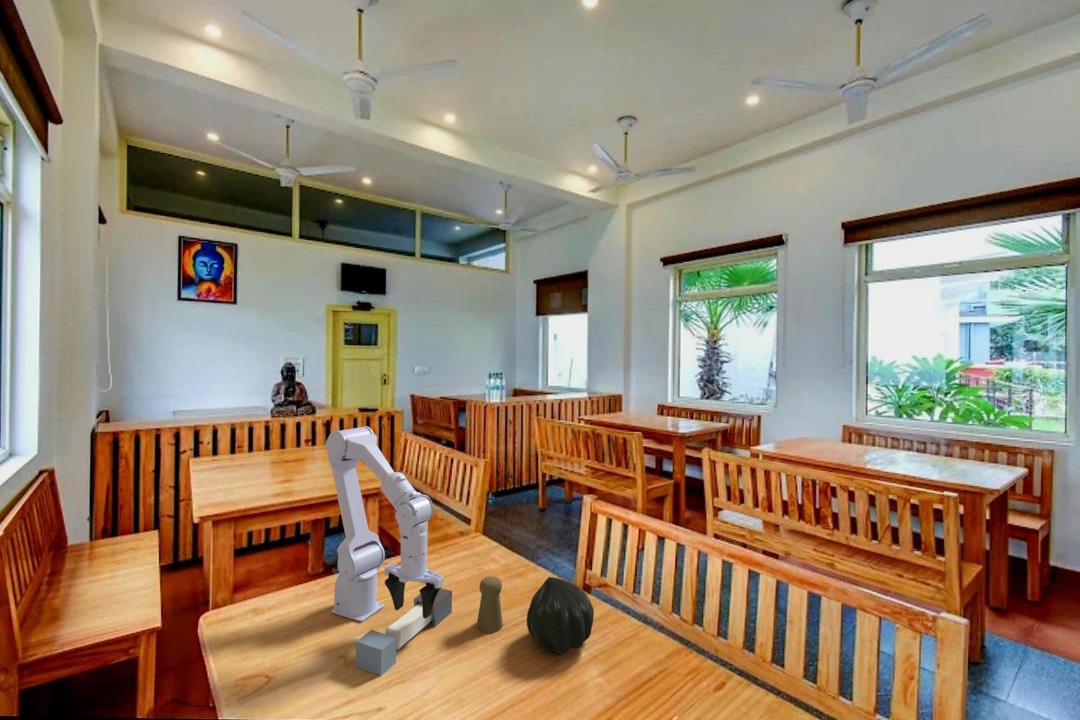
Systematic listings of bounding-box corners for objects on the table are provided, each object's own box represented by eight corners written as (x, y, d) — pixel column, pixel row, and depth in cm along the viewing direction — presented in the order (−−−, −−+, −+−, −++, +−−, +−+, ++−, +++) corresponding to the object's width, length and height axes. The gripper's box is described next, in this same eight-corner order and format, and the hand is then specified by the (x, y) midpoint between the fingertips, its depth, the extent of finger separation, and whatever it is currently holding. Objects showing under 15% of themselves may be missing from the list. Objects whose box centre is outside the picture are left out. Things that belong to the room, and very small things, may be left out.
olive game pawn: (498, 634, 112) (499, 586, 112) (472, 630, 113) (474, 583, 113) (505, 620, 118) (507, 574, 118) (481, 616, 119) (482, 571, 119)
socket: (355, 666, 100) (355, 641, 99) (371, 654, 104) (371, 629, 104) (380, 676, 97) (381, 650, 97) (395, 662, 101) (396, 637, 101)
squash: (616, 628, 106) (585, 560, 114) (563, 656, 97) (532, 580, 105) (583, 646, 115) (556, 581, 123) (531, 672, 106) (505, 601, 114)
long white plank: (384, 645, 105) (385, 629, 105) (436, 603, 123) (436, 589, 123) (398, 649, 104) (398, 633, 104) (448, 606, 122) (448, 592, 122)
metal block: (413, 620, 117) (414, 598, 116) (431, 606, 123) (431, 585, 123) (434, 626, 114) (435, 604, 114) (451, 612, 121) (452, 591, 121)
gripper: (375, 552, 110) (374, 613, 110) (430, 565, 104) (429, 629, 105) (396, 541, 116) (395, 598, 117) (449, 552, 111) (448, 612, 111)
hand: (412, 612), depth 111 cm, fingers open, 7 cm apart
